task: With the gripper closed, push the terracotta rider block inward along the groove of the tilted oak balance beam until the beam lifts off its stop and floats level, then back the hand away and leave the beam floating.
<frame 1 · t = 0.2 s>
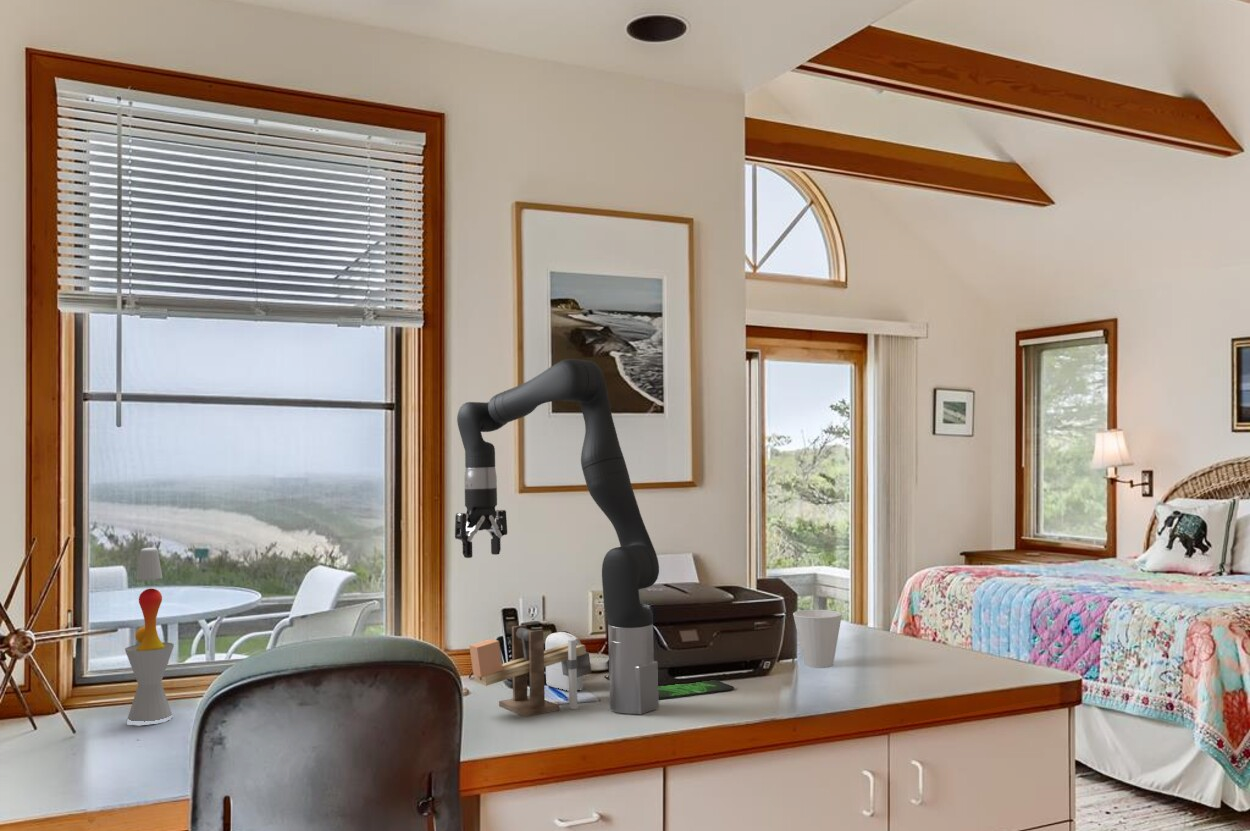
hand: (482, 556, 232), 29 cm above the table, tool pointing down, fingers open, 8 cm apart
lava lamp: (149, 721, 201), on the table
pivot post: (528, 707, 205), on the table
cup: (818, 665, 240), on the table
beam: (532, 658, 206), point 10 cm above the table, hinge at 7.7°, touching rider
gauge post: (573, 708, 204), on the table
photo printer: (564, 689, 222), on the table
mouse mat: (666, 685, 224), on the table
rider: (488, 672, 200), point 9 cm above the table, tilted 8°, touching beam
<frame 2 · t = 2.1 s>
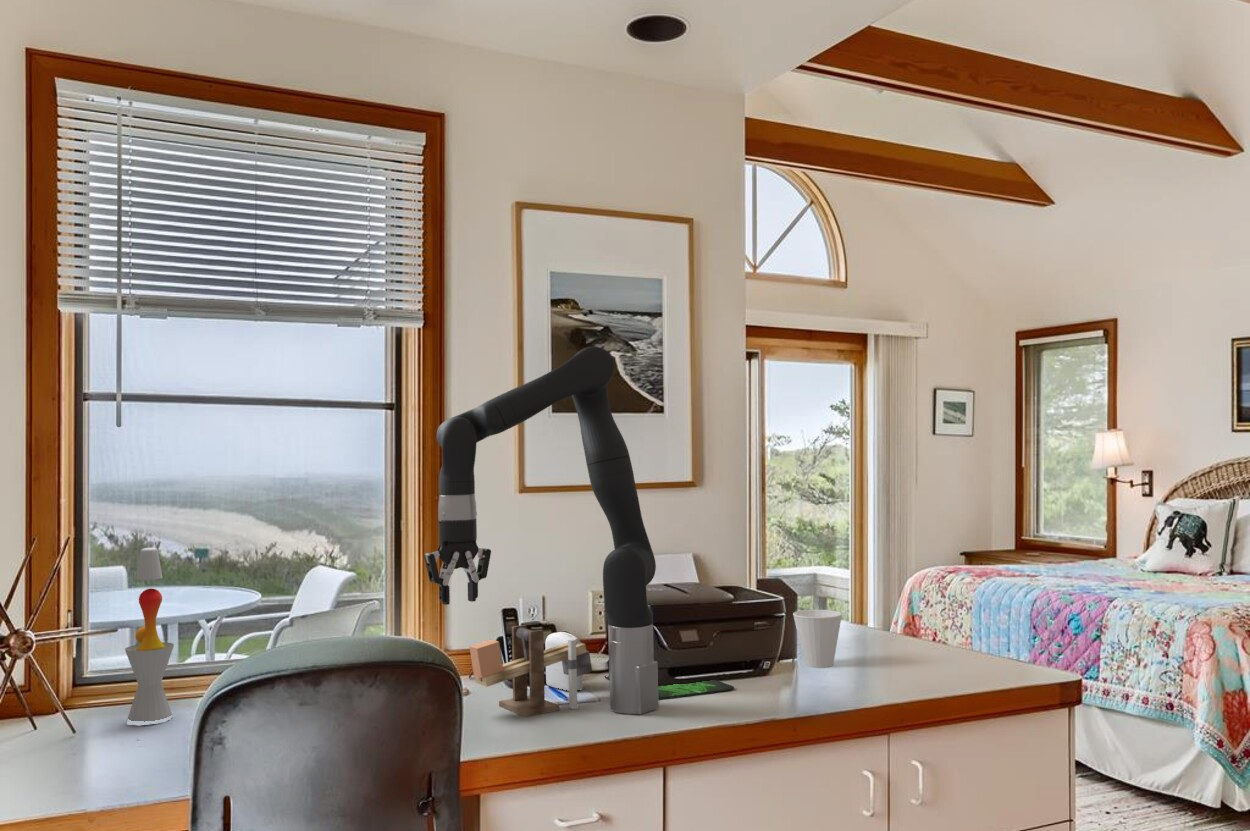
hand: (458, 602, 197), 23 cm above the table, tool pointing down, fingers open, 5 cm apart
beam: (532, 658, 206), point 10 cm above the table, hinge at 8.8°, touching rider
everything else where it was.
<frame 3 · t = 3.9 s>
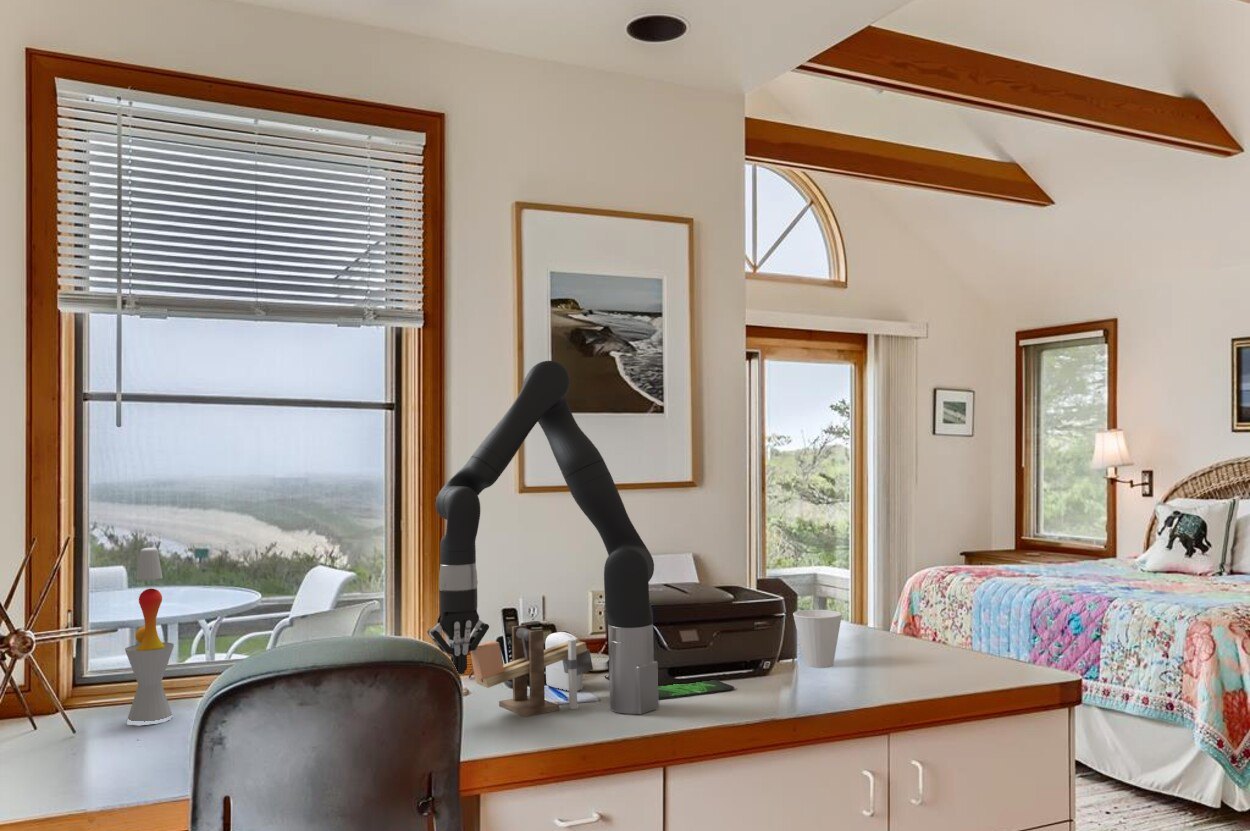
hand: (459, 673, 196), 9 cm above the table, tool pointing down, fingers closed
beam: (533, 657, 206), point 10 cm above the table, hinge at 10.1°, touching rider
rider: (489, 673, 200), point 8 cm above the table, tilted 10°, touching beam, gripper
everything else where it was.
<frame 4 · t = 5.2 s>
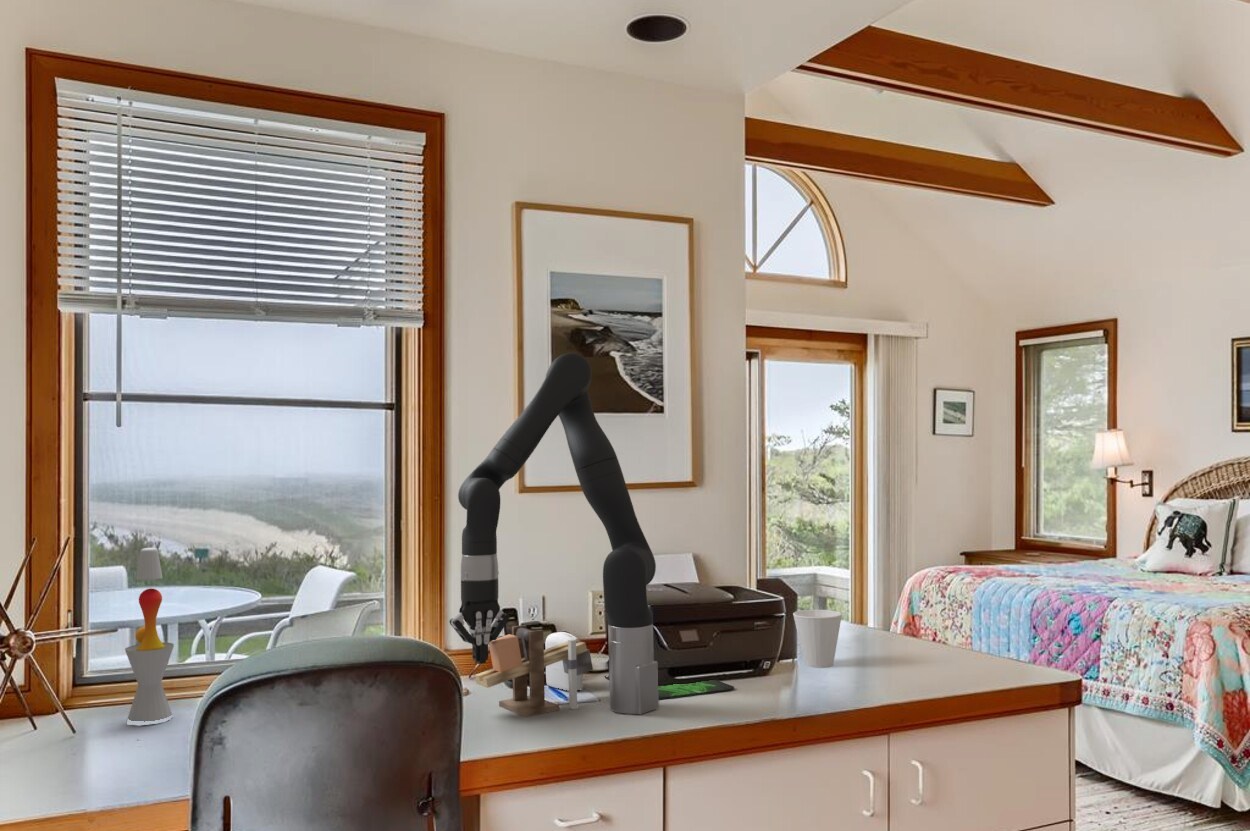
hand: (480, 663, 199), 11 cm above the table, tool pointing down, fingers closed
rider: (507, 667, 202), point 9 cm above the table, tilted 10°, touching beam, gripper
everything else where it was.
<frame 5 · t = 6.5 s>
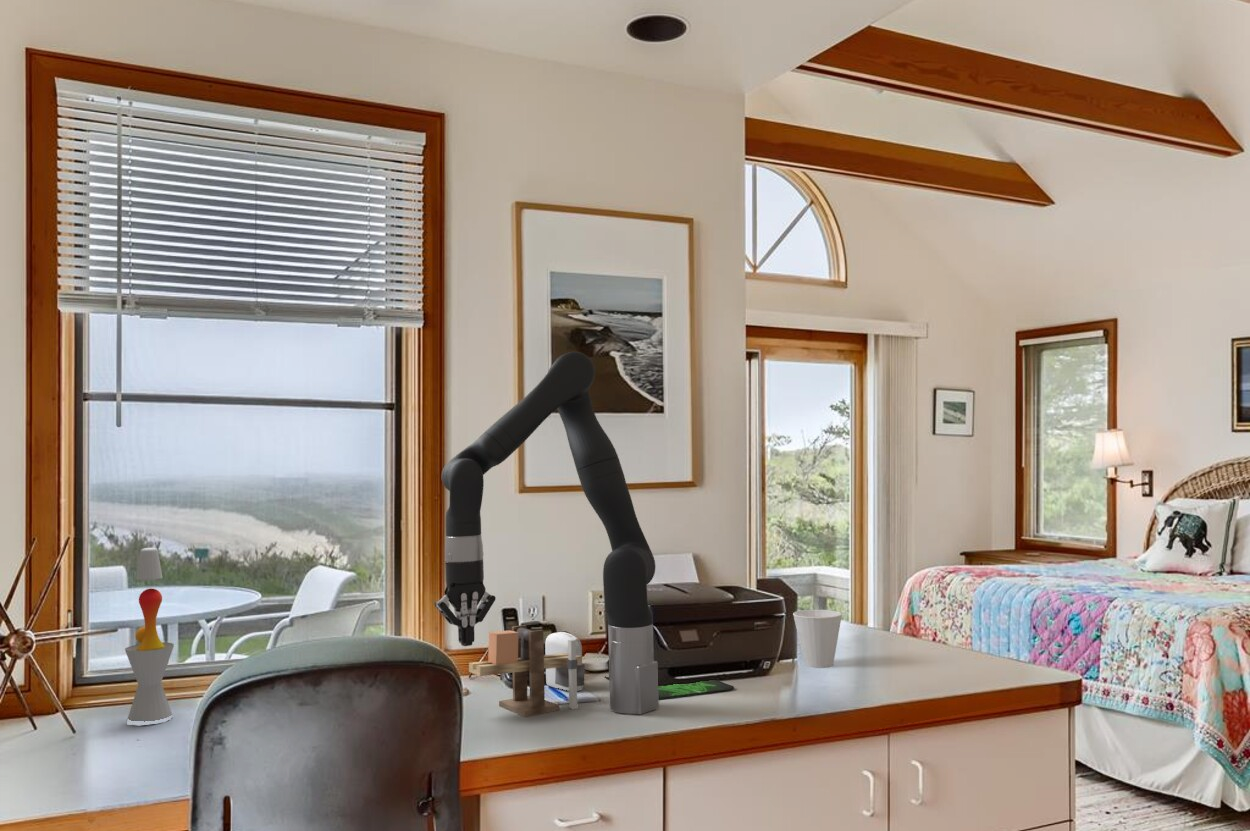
hand: (466, 645, 197), 15 cm above the table, tool pointing down, fingers closed
beam: (528, 659, 205), point 10 cm above the table, hinge at -2.8°, touching rider
rider: (502, 662, 202), point 10 cm above the table, touching beam
everything else where it was.
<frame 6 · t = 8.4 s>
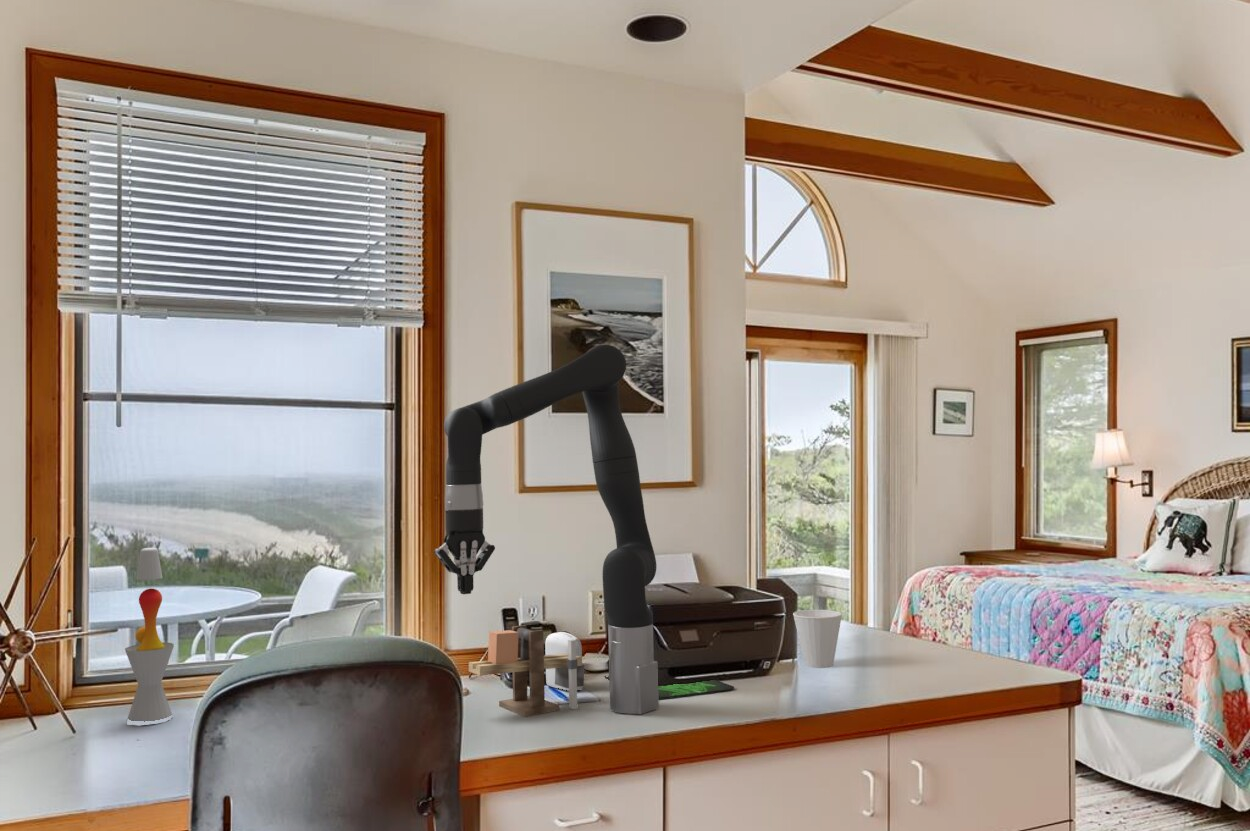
hand: (465, 593, 198), 25 cm above the table, tool pointing down, fingers closed
beam: (528, 659, 205), point 10 cm above the table, hinge at -3.3°, touching rider
everything else where it was.
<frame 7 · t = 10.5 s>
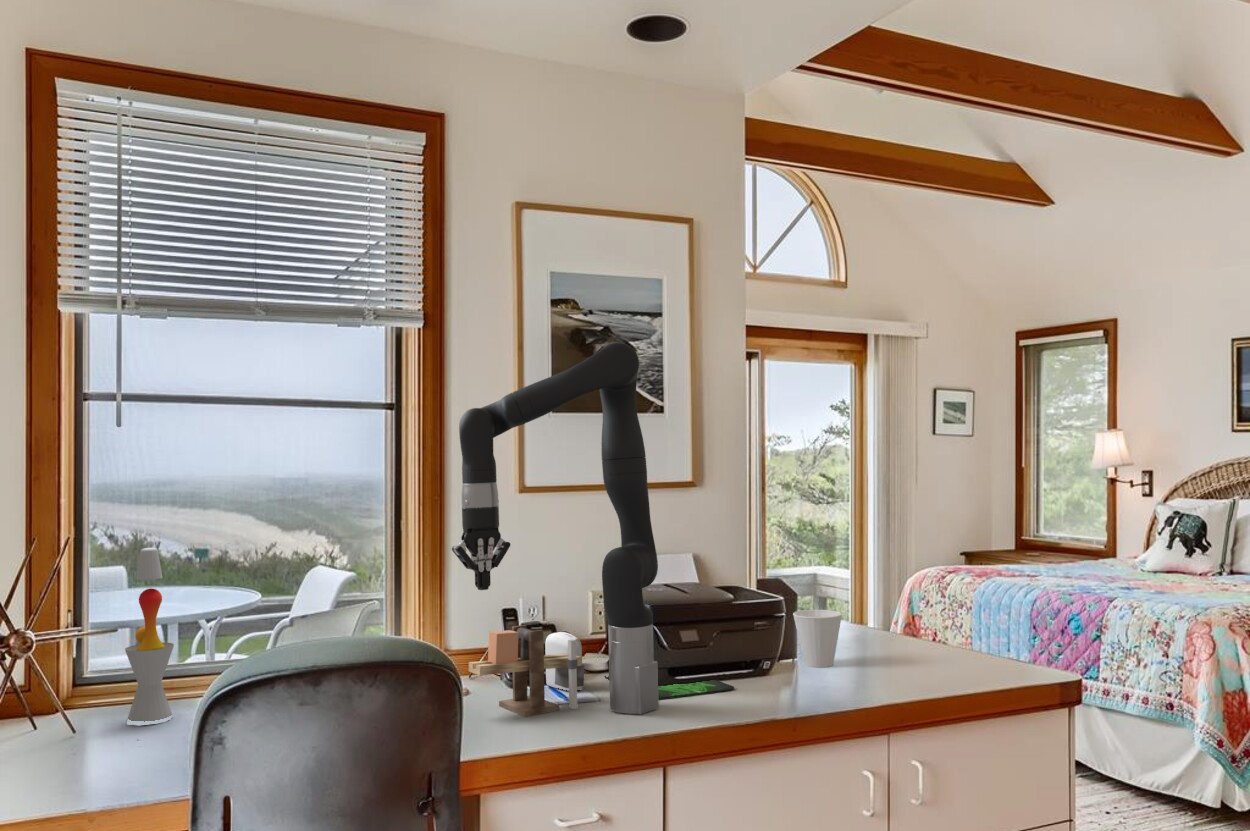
hand: (482, 589, 203), 25 cm above the table, tool pointing down, fingers closed
nothing on the table moved.
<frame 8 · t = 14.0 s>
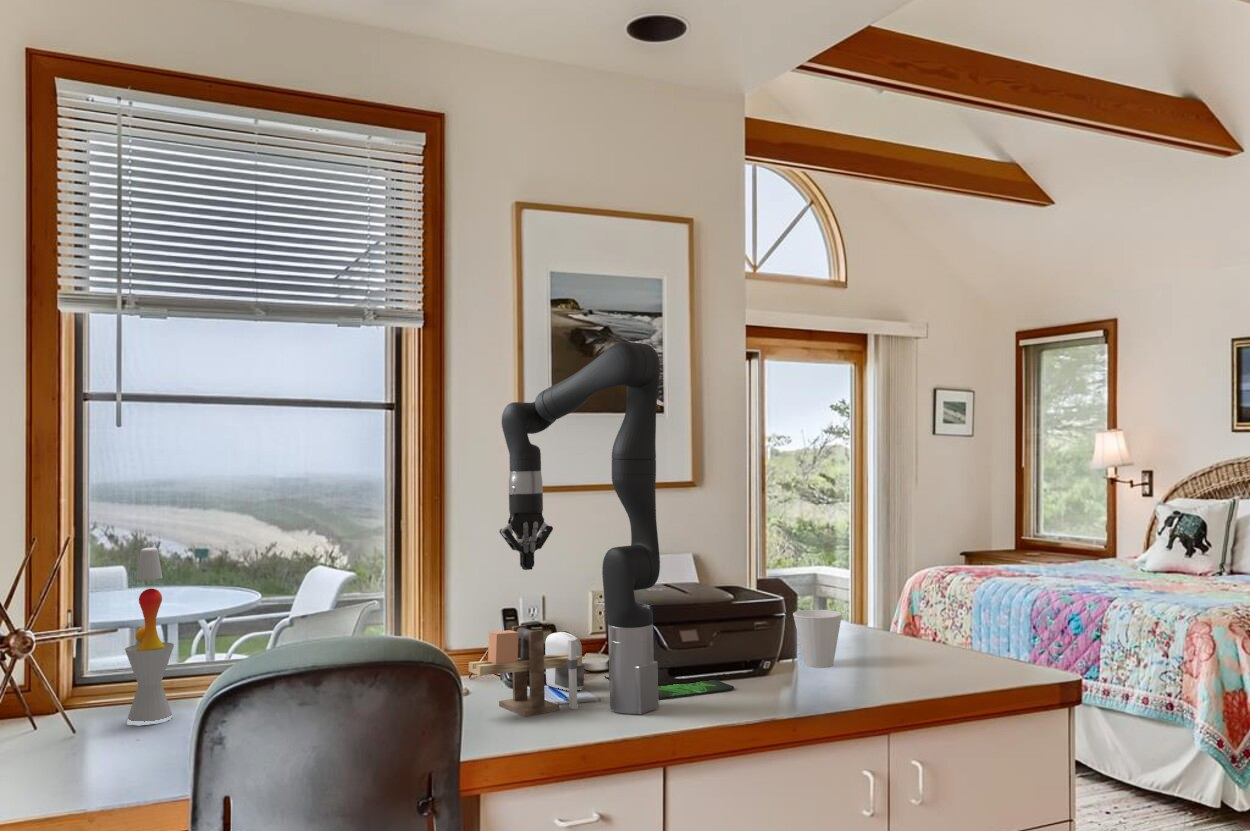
hand: (527, 569, 220), 27 cm above the table, tool pointing down, fingers closed
nothing on the table moved.
at the end: rider inside the target area under the beam (1.1 cm from its centre), point -4.7 cm above the beam's base; rider moved 4.1 cm from its start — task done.
